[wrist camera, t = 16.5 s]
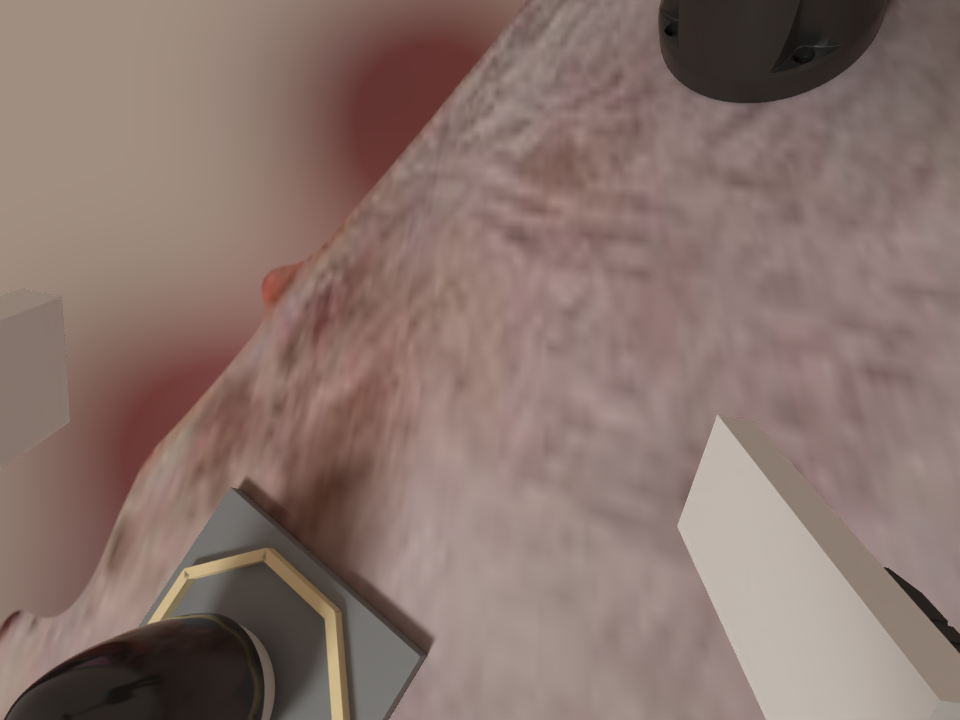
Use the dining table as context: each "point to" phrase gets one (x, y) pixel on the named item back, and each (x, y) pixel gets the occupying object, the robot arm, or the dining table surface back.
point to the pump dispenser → (159, 676)
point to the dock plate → (293, 617)
